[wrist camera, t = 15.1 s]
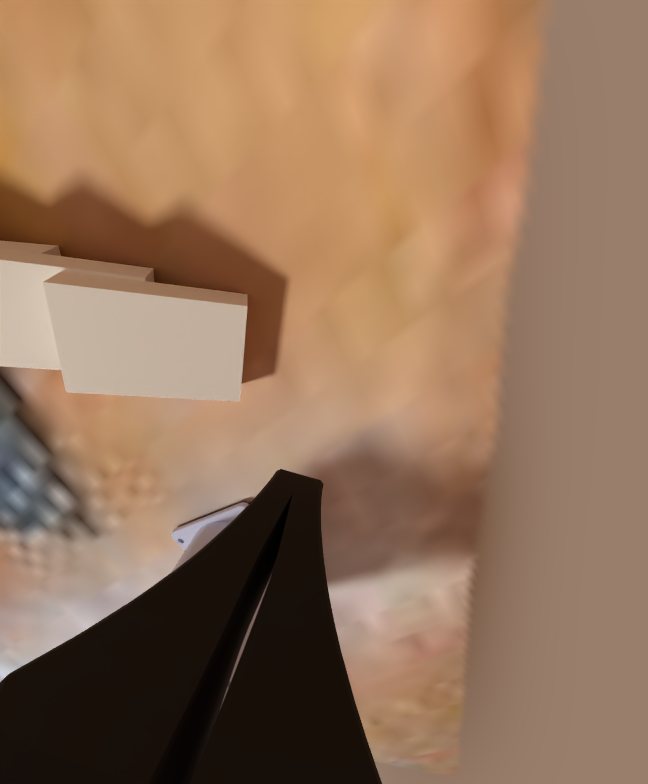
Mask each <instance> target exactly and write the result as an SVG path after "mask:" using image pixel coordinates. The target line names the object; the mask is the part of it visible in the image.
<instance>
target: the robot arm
mask: <svg viewBox="0 0 648 784" xmlns="http://www.w3.org/2000/svg"><path fill="white" fill-rule="evenodd" d="M322 489H323V483H322V482H321V480H317V479H314V478H310V477H307V476H303V475H300V474H296V473H293V472H289V471H286V470H282V469H280V470H278V471H276V473H275V474H274V476H273V477H272V478H271V480H270V481H269V482H268V483H267V485H266V486H265V487H264V488H263V489H262V490H261V492H260V493H259V494H258V495H257V496H256V497H255V498H254V499H253V500H252V502H251V503H250V504H248V503H245V502H242V503H239V504H236V505H234V506H231V507H229V508H226V509H224V510H221V511H218V512H216V513H213V514H211V515H208V516H206V517H203V518H201V519H198V520H196V521H193V522H191V523H188V524H185V525H183V526H180V527H178V528H175V529H174V530H173V531H172V533H171V536H172V538H173V539H174V540H175V541H176V542H177V543H178V544H179V545H180V546H181V547H182V548H183V549H184V550H185V551H184V553H183V555H182V556H181V558H180V560H179V561H178V563H177V564H176V566H175V568H174V569H173V571H172V573H170V574H169V575H168V576H166V577H165V578H163V579H162V580H161V581H159V582H158V583H157V584H155V585H154V586H152V587H151V588H150V589H148V590H147V591H145V592H144V593H143V594H141V595H140V596H138V597H137V598H135V599H134V600H132V601H131V602H129V603H128V604H126V605H125V606H123V607H121V608H120V609H118V610H117V611H115V612H114V613H112V614H110V615H109V616H107V617H106V618H104V619H103V620H101V621H99V622H98V623H96V624H95V625H93V626H92V627H90V628H88V629H87V630H85V631H83V632H82V633H80V634H78V635H77V636H75V637H73V638H72V639H70V640H68V641H66V642H65V643H63V644H61V645H59V646H57V647H56V648H54V649H52V650H50V651H49V652H47V653H45V654H43V655H42V656H40V657H38V658H36V659H34V660H33V661H31V662H29V663H27V664H26V665H24V666H22V667H20V668H18V669H17V670H15V671H13V672H12V673H10V674H8V675H7V676H6V677H5V678H4V679H3V680H2V681H1V682H0V784H382V782H381V780H380V777H379V774H378V771H377V768H376V765H375V762H374V759H373V756H372V753H371V750H370V748H369V745H368V742H367V739H366V736H365V732H364V729H363V726H362V723H361V720H360V716H359V713H358V710H357V707H356V704H355V700H354V697H353V693H352V690H351V686H350V682H349V679H348V675H347V671H346V668H345V664H344V660H343V657H342V653H341V649H340V645H339V641H338V636H337V632H336V628H335V623H334V618H333V613H332V609H331V604H330V598H329V592H328V586H327V580H326V573H325V566H324V557H323V547H322V534H321V496H322Z"/></svg>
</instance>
